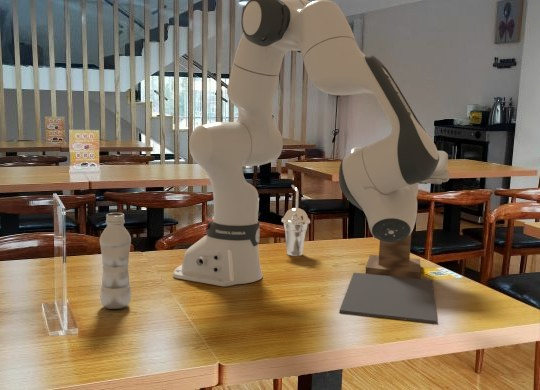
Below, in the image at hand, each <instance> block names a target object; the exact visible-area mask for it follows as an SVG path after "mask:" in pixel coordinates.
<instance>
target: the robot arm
mask: <svg viewBox="0 0 540 390" xmlns="http://www.w3.org/2000/svg"><path fill="white" fill-rule="evenodd" d="M241 28H242V29H241V30H242V34H241V36H240V37H241V38H240V40H239V42H238V45H237V49H236V51H235V55H234V57H233V62H232V67H231V70H230V76H229V80H228V84H227V89H226V94H227V97H228V100H229V101H230V102H231V104H232V105H234V107H236V108H237V110H238V113H237V114H238V116H237V120H236V121H214V122H209V123H204V124H200V125H198V126H196V127H195V128H194V130H193V131H192V132H191V135H190V137H189V142H188V148H189V152H190V155H191V157H192V159H193V161H194V162H195V163H196V164H197V165H199V166H200V167H201V168H202V169H203V170H204V172H205V173H206V175H207V177H208V179H209V181H210V185H211V189H212V194H213V196H212V197H213V218H212V219H210V220H209V222H207V223H206V225H204V229H203V230H205V231H206V232H205V233H206V235H204V236H203V237H201V238H200V239H199V240H198V241H196V242H194V244H192V245H191V246H189V247H188V248H187V250H186V251H185V252H184V255H183V258H182V264H180V265H179V266H177V267H176V268H175V269H174V270H173V275H172V276H173V277H174V278H175V279H178V280H179V279H180V280H186V281H192V282H196V283H202V284H207V285H212V286H213V285H214V286H219V287H230V286H235V285H241V284H243V285H244V284H249V283H253V282H254V283H255V282H257V281H260V280H261V279H262V278H263V276H264V275H263V272H262V267H261V263H260V255H259V243H260V239H261V238H260V234H261V229H260V222H259V220H258V219H259V193H258V190H257V188H256V187H255V186H254V185H253V184H251V183H249V182H247V180H246V178H245V176H244V171H243V168H244V167H252V166H253V167H254V166H255V167H256V166H262V165H266V164H269V163H271V162H275V161H276V160H278V158H279V157H280V156H281V154H282V151H283V146H284V140H283V136H282V133H281V131H280V130H279V129H278V126H276V123H275V122H274V118H273V102H274V98H275V93H276V89H277V84H278V81H279V76H280V72H281V68H282V63H283V59H284V57H285V55H286V54H287V53H288V52H290V51H294V52H295V51H296V52H297V53H301V57H302V60H303V65H304V67H305V71H306V73H307V76H308V78H309V80H310V81H311V83H312V85H313V86H314V87H315V88H316V89H317V90H319V91H321V92H322V93H325V94H328V95H333V96H350V95H359V94H372V95H373V96H374V97H375V99H376V100H377V102H378V104H379V106H380V108H381V109H382V111H383V112H384V116H386V118H387V120H388V122H389V123H390V126H391V127H392V130H391V133H390V134H389V135H387V136H386V137H383V138H380V140H377V141H375V142H373V143H371V144H369V145H367V146H364V147H363V146H355V147H353V148H352V149H351V150H350V154H347V155H345V156H343V158H342V159H341V161H340V164H339V170H338V184H339V187H340V188H339V189H340V190H341V192H342V193H343V195H344V197H345V198H346V199H347V200H348V201H349V202H350V203H351V204H352V205H353V206H354V207H356V208H358V209H359V210H361V211H363V212H364V214H365V217H366V220H367V223H368V228H369V231H370V233H371V235H372V237H374V238H375V239H377V240H379V241H380V240H381V241H384V242H396V241H399V240H402V239H405V238H407V237H408V236H409V235H410V234H411V235H412V233H413V230H414V228H415V225H416V221H417V214H418V198H417V196H418V194H419V183H427V184H433V185H434V184H435V185H442V183H446V182H448V181H449V180H450V172H449V170H448V169H447V168H448V162H449V161H448V160H449V154H448V153H447V152H446V151H444V150H438V149H437V146H436V144H435V143H434V141H433V139H432V138H431V136H430V135H429V134H428V133H427V131H426V130H425V128H424V127H423V125H422V124H421V123H420V121H419V120H418V118H417V116H416V114H415V112H414V111H413V109H412V108H411V106H410V104H409V103H408V101H407V99H406V97H405V96H404V94H403V92H402V91H401V89H400V87H399V86H398V84H397V82H396V81H395V79H394V78H393V76H392V75H391V73H390V72H389V70H388V68H387V67H386V66H385V64H384V63H383V62H381V60H379V58H378V57H376V56H375V55H366V54H365V53H363V52H362V50H361V49H360V47H359V45H358V43H357V40H356V38H355V34H354V33H353V30H352V27H351V25H350V24H349V21H348V20H347V18H346V16H345V14H344V12H343V10H342V9H341V8H340V5H338V4H337V3H335V2H334V1H332V0H314V1H310V0H247V2H246V4H245V6H244V8H243V9H242V14H241Z"/></svg>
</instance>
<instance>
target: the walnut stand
mask: <svg viewBox="0 0 540 390" xmlns="http://www.w3.org/2000/svg"><path fill="white" fill-rule="evenodd" d="M419 184H420V185H421V184H422V185H427V184H428V183H418V185H419ZM411 243H412V233H411V234H410V235H409V236H408V237H407V238H405V239H402V240H399V241H396V242H384V241H381V240H379V248H378V250H379V251H378V255H376V254H375V255H374V254H369V255H368V260H367V262H366V265H365V266H366V267H365V274H375V275H385V276H395V277H406V278H416V279H421V274H422V273H421V265H422V264H421V258H412V257H411V254H410V253H411V246H412V245H411Z"/></svg>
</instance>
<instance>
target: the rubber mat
mask: <svg viewBox="0 0 540 390" xmlns="http://www.w3.org/2000/svg"><path fill="white" fill-rule="evenodd" d="M433 281H434V280H433V279H427V278H425V279H424V278H420V279H416V278H406V277H395V276H385V275H375V274H366V273H363V272H353V273H352V277H351V279H350V282H349V284H348V286H347V289H346V292H345V294H344V298H343V300H342V302H341V305H340V308H339V311H338V312H339V314H340V313H341V314H348V315H355V316H364V317H365V316H366V317H373V316H375V317H374V318H382V317H387V318H386V319H391V318H396V319H395V320H399V319H406V320H405V321H408V320H414V321H413V322H417V321H422V322H421V323H426V322H431V323H430V324H435V323H436V324H437V311H436V299H435V292H434V282H433Z"/></svg>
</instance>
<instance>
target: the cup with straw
mask: <svg viewBox="0 0 540 390" xmlns="http://www.w3.org/2000/svg"><path fill="white" fill-rule="evenodd" d="M291 187H292V190H294V191H295V207H292V208H290V209H288V210H287V211H286V212H285V214H284V216H283V217H282V218H281V223H283V226H284V227H283V228H284V231H285V233H284V234H285V247H286V248H285V249H286V251H287V252H286V254H287V255H288V256H291V257H292V256H293V257H301V256H302V255H303V252H304V244H305V240H306V239H305V237H306V232H307V229H308V225H309V224H311V220H310V218H309V217H308V214H307V213H306V211H305V210H304V209H301V208H299V193H300V192H299V189H298V188H297V187H296V186H295V185H294V184H291Z"/></svg>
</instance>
